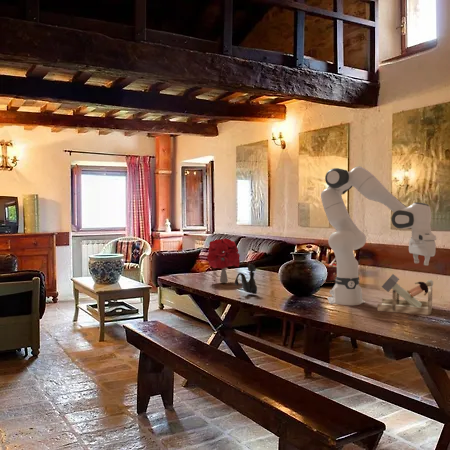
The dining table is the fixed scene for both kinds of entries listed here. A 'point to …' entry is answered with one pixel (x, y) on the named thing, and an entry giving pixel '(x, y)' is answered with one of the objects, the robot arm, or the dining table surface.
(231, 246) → the bouquet
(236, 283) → the cat figurine
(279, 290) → the dining table surface
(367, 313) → the dining table surface
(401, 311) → the frame
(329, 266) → the stew
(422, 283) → the grandmother figurine
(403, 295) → the hammer
